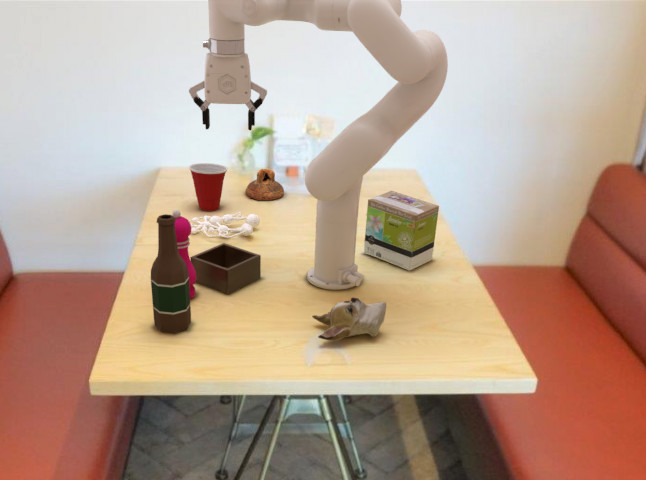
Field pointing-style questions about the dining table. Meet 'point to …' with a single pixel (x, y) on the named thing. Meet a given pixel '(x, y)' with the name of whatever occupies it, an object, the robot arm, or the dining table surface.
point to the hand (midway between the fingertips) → (228, 128)
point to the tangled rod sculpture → (223, 230)
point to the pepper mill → (184, 246)
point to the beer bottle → (170, 281)
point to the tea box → (400, 229)
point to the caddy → (226, 268)
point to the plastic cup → (208, 184)
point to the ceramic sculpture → (352, 319)
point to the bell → (265, 186)
